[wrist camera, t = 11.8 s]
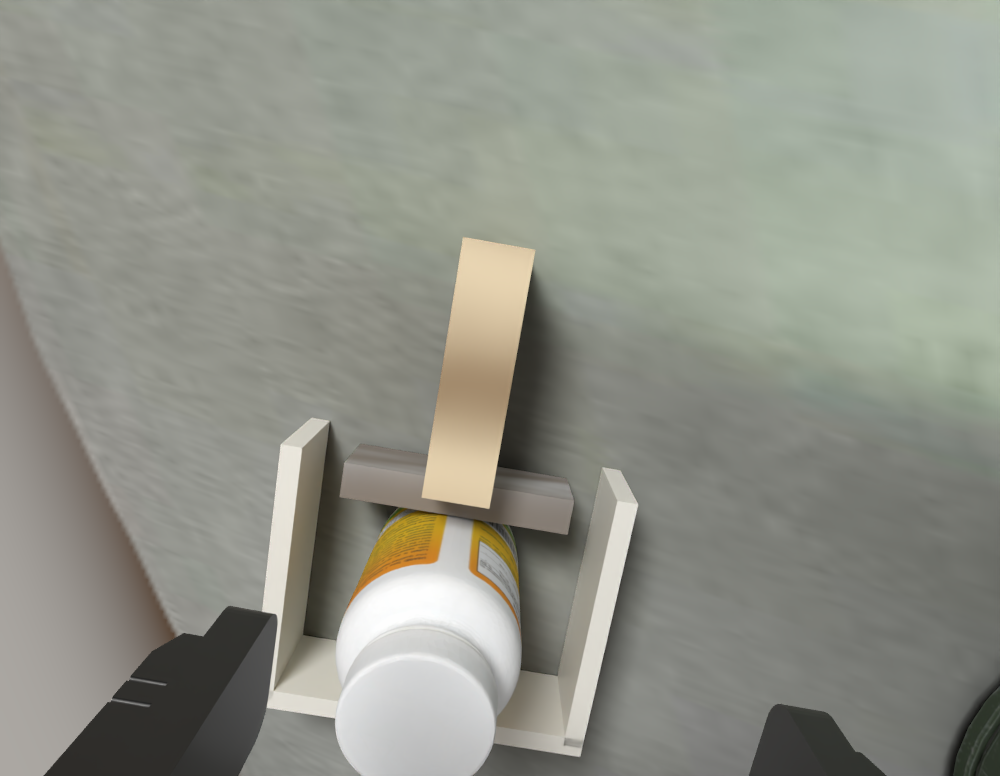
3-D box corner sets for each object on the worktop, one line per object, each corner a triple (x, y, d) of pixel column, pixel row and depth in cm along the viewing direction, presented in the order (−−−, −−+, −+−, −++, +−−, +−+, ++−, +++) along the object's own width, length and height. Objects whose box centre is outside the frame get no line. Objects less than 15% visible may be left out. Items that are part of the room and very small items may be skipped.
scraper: (390, 231, 27) (363, 219, 22) (607, 270, 27) (633, 267, 22) (356, 474, 29) (322, 520, 23) (560, 508, 29) (574, 561, 23)
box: (311, 417, 29) (280, 444, 25) (620, 470, 29) (638, 504, 25) (283, 647, 31) (251, 705, 27) (570, 693, 31) (580, 757, 27)
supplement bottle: (364, 595, 30) (282, 793, 19) (397, 469, 29) (331, 603, 18) (495, 630, 31) (490, 844, 20) (534, 507, 29) (552, 661, 18)
